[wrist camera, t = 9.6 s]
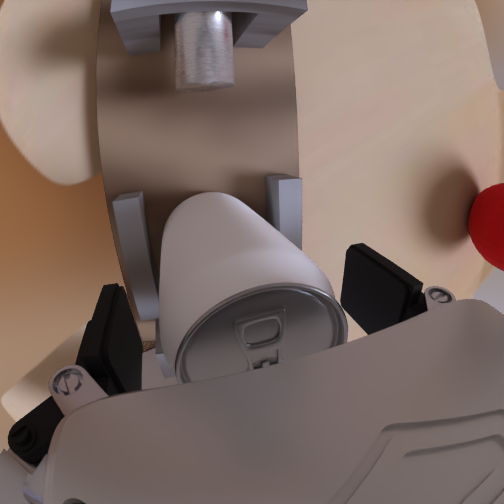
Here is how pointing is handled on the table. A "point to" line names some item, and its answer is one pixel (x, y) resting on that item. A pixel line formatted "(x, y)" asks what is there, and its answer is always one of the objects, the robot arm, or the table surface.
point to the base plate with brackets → (192, 131)
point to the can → (238, 293)
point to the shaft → (203, 51)
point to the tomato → (489, 224)
